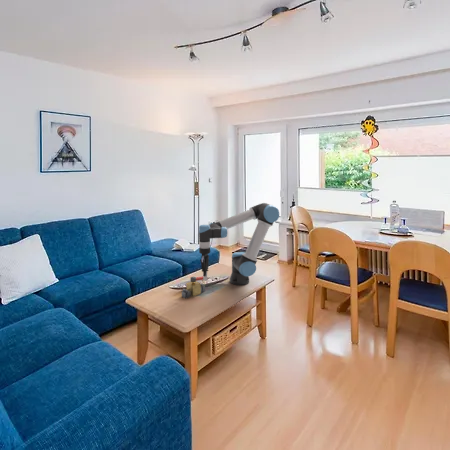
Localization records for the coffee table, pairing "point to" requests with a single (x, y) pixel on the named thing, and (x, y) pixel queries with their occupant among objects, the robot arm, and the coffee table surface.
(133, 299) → the coffee table surface
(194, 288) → the valve
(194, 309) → the coffee table surface
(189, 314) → the coffee table surface
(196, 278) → the lever
